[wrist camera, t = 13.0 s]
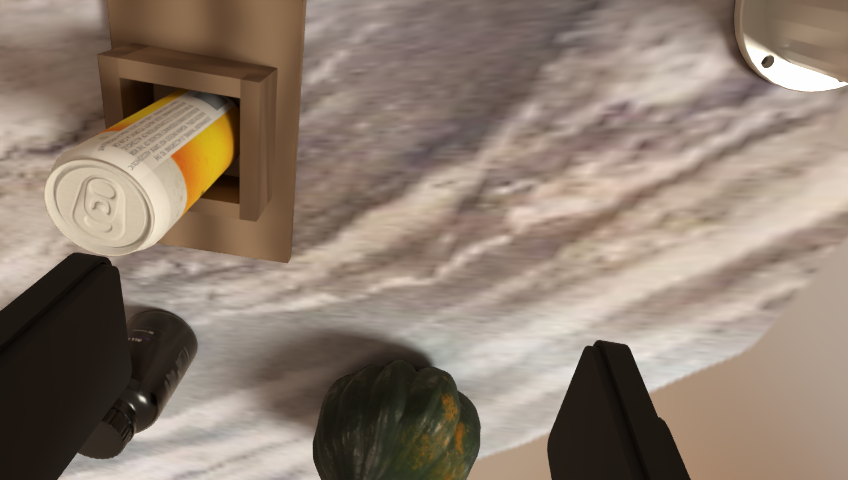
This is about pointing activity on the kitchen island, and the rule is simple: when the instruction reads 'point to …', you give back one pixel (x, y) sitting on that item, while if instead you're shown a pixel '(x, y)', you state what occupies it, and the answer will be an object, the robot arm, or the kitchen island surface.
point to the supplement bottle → (145, 380)
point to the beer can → (143, 172)
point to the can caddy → (225, 75)
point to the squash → (396, 426)
